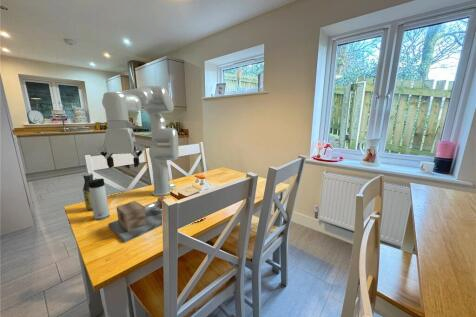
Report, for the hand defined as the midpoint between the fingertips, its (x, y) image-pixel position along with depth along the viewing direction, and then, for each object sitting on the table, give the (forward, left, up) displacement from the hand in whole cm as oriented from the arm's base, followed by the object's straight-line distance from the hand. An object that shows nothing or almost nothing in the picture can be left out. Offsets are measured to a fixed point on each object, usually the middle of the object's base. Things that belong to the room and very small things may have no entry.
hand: (124, 166), depth 80 cm
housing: (-6, -2, -29) cm, 30 cm away
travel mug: (+5, -23, -29) cm, 37 cm away
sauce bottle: (+5, -37, -29) cm, 47 cm away
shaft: (-10, -2, -26) cm, 28 cm away
